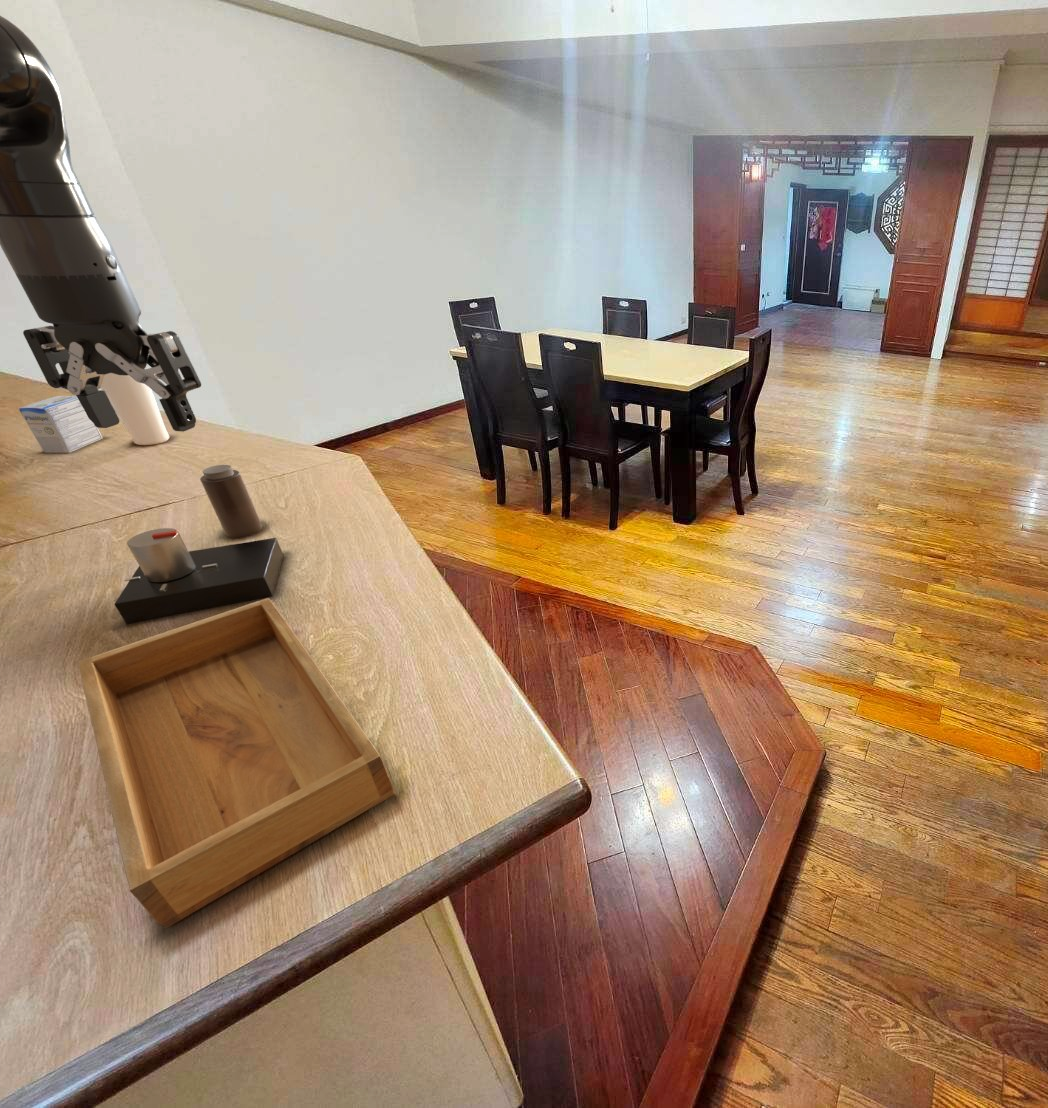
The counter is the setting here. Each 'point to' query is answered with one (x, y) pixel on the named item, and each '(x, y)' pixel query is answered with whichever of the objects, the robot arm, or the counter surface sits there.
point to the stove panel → (206, 582)
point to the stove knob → (161, 554)
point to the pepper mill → (230, 501)
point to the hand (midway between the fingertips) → (147, 427)
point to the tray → (222, 755)
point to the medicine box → (60, 424)
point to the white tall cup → (135, 408)
